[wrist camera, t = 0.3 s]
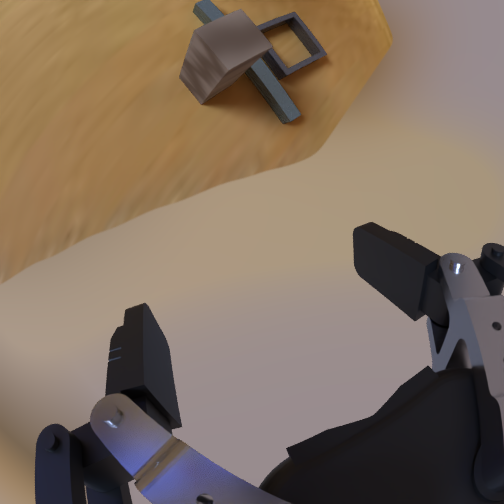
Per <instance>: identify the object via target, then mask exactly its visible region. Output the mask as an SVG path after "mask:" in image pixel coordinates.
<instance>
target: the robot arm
mask: <svg viewBox="0 0 504 504" xmlns="http://www.w3.org/2000/svg"><path fill="white" fill-rule="evenodd" d="M353 248H354V266H355V269H356V271H357V273H358V275H359V276H360V277H361V278H362V279H364V280H365V281H366V282H368V283H369V284H370V285H371V286H372V287H374V288H375V289H377V291H379V292H380V293H381V294H382V295H384V296H385V297H386V298H387V299H389V300H390V301H391V302H392V303H394V304H395V305H396V306H397V307H398V308H399V309H401V310H402V311H403V312H404V313H406V314H407V315H408V316H409V317H410V318H411V319H413V320H414V321H417V320H418V319H419V318H421V317H422V316H424V315H425V314H426V315H427V316H428V318H427V329H428V334H429V341H430V348H431V354H432V369H431V368H430V367H429V366H427V367H426V368H424V369H423V370H422V371H420V372H419V373H418V374H416V375H415V376H414V377H412V378H411V379H409V380H408V381H407V382H405V383H404V384H403V385H401V386H400V387H399V388H398V390H397V391H396V392H395V393H394V394H393V395H392V396H391V397H390V398H389V400H388V401H387V402H386V403H385V404H384V405H383V406H382V407H381V408H380V409H379V410H378V411H377V412H376V413H375V414H374V415H373V416H371V417H368V418H365V419H362V420H359V421H356V422H353V423H349V424H346V425H343V426H339V427H336V428H332V429H328V430H326V431H324V432H321V433H319V434H317V435H315V436H313V437H311V438H309V439H307V440H304V441H302V442H300V443H298V444H295V445H293V446H290V447H288V448H286V449H287V452H288V454H289V457H288V458H287V459H286V460H284V461H283V462H281V463H280V464H279V465H278V466H277V467H276V468H274V469H273V470H272V471H271V472H270V473H269V475H268V476H267V477H266V478H265V479H264V481H263V482H262V483H261V485H260V486H259V488H257V487H255V486H253V485H251V484H250V483H248V482H246V481H244V480H242V479H240V478H239V477H237V476H235V475H233V474H232V473H230V472H228V471H227V470H225V469H223V468H222V467H220V466H219V465H217V464H215V463H214V462H212V461H210V460H209V459H208V458H206V457H205V456H203V455H202V454H200V453H198V452H197V451H196V450H194V449H193V448H191V447H190V446H188V445H187V444H186V443H184V442H182V441H181V440H180V439H177V438H176V437H174V436H173V435H172V429H175V428H179V427H182V424H181V419H180V413H179V408H178V402H177V396H176V390H175V384H174V378H173V371H172V364H171V356H170V350H169V346H168V343H167V340H166V338H165V336H164V334H163V332H162V330H161V329H160V327H159V325H158V323H157V321H156V320H155V318H154V316H153V314H152V312H151V310H150V308H149V306H148V305H147V304H146V303H143V304H140V305H137V306H134V307H132V308H128V309H126V310H125V316H124V325H123V326H120V327H117V329H116V331H115V333H114V334H113V336H112V338H111V342H110V353H109V359H108V360H109V362H108V368H107V380H106V394H105V397H104V398H102V399H101V400H100V401H98V402H97V404H96V405H95V406H94V408H93V410H92V413H91V416H90V422H88V423H87V424H85V425H83V426H81V427H79V428H77V429H75V430H73V431H71V432H70V431H68V430H67V429H66V428H65V427H63V426H62V425H59V424H52V425H49V426H47V427H46V428H44V429H43V430H42V432H41V433H40V435H39V437H38V439H37V443H36V457H35V458H36V459H35V499H36V504H86V496H85V488H84V485H85V486H86V491H87V499H88V504H132V500H131V496H130V491H129V486H128V482H129V481H131V480H134V479H135V480H136V482H135V486H136V488H137V489H138V490H139V491H140V492H141V494H143V496H144V497H146V498H147V499H148V500H149V501H150V502H151V503H152V504H504V296H503V295H501V293H502V290H503V287H504V246H502V245H499V244H495V243H487V244H485V245H484V246H483V248H482V253H481V257H480V258H478V259H474V260H471V259H470V258H468V257H467V256H465V255H462V254H458V253H448V254H445V255H443V256H442V257H441V256H439V255H437V254H435V253H434V252H432V251H430V250H428V249H427V248H425V247H423V246H421V245H419V244H418V243H415V242H414V241H412V240H410V239H407V237H405V236H403V235H401V234H399V233H397V232H393V231H389V230H387V229H385V228H383V227H381V226H379V225H377V224H375V223H373V222H369V223H367V224H364V225H362V226H359V227H357V228H355V229H354V231H353Z"/></svg>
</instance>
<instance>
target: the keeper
mask: <svg viewBox="0 0 504 504" xmlns="http://www.w3.org/2000/svg"><path fill="white" fill-rule="evenodd" d="M193 13H194V14H195V15H196V16H197V17H198V18H199V19H200V20H201V21H202V22H203V23H204V25H205V24H208V23H210V22H212V21H214V20H216V19H218V18H220V17H223V16H224V15H223V13H222V12H221V11H220V10H219V9H218V8H217V7H216V6H215V5H214V4H213V3H212V2H211V1H210V0H202V1H200V2H198V3H196V4H195V6H194V9H193ZM285 23H287V24H288V25H289V27H290V28H291V29H292V30H293V32H294V33H295V34H296V35H297V37H298V38H299V39H300V41H301V42H302V43H303V45H304V46H305V47H306V49H307V50H308V51H309V53H310V54H311V55H312V56H311V57H309V58H307V59H305V60H303V61H301V62H299V63H298V64H296V65H294V66H292V67H290V68H287V67H286V66H285V64H284V63H283V62H282V60H281V59H280V58H279V56H278V55H277V54H276V53H275V51H274V50H273V49H272V48H271V49H270V50H269V51H268V52H266V53H265V54H264V55H263V56H262V58H263V59H264V61H265V62H266V63H267V65H268V66H269V67H270V69H271V70H272V71H273V73H274V74H275V75H276V77H277V78H278V79H279V80H280V79H282V78H284V77H285V76H287V75H289V74H291V73H293V72H294V71H296V70H298V69H300V68H302V67H304V66H306V65H308V64H309V63H311V62H313V61H315V60H317V59H319V58H321V57H323V56H325V55H327V53H326V52H325V51H324V49H323V48H322V46H321V45H320V44H319V42H318V41H317V39H316V38H315V37H314V35H313V34H312V33H311V31H310V30H309V29H308V28H307V26H306V25H305V24H304V23H303V21H302V20H301V19H300V18H299V16H298V15H297V14H296V13H295V12H292V13H289V14H287V15H284V16H281V17H278V18H276V19H273V20H271V21H268V22H266V23H263V24H261V25H258V26H257V28H258V29H259V30H260V31H261V32H262V33H264V32H266V31H268V30H271V29H273V28H276V27H278V26H280V25H283V24H285ZM245 73H246V74H247V76H248V77H249V78H250V80H251V81H252V82H253V83H254V85H255V86H256V87H257V89H258V90H259V91H260V93H261V94H262V95H263V97H264V98H265V100H266V101H267V102H268V104H269V105H270V107H271V108H272V109H273V111H274V112H275V114H276V115H277V116H278V118H279V119H280V121H281V122H282V124H284V123H288V122H291V121H292V120H294V119H295V118H297V117H298V116H300V115H301V113H300V112H299V110H298V109H297V107H296V106H295V105H294V103H293V102H292V100H291V99H290V97H289V96H288V94H287V93H286V92H285V90H284V89H283V87H282V86H281V85H280V83H279V82H278V80H277V79H276V78H275V76H274V75H273V74H272V72H271V71H270V70H269V68H268V67H267V66H266V64H265V63H264V62H263V61H262V59H261V58H260V59H258V60H257V61H256V62H255V63H254V64H253V65H252V66H251V67H250V68H249V69H248V70H246V71H245Z"/></svg>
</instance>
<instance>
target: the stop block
mask: <svg viewBox="0 0 504 504" xmlns="http://www.w3.org/2000/svg"><path fill="white" fill-rule="evenodd" d="M272 47H273V46H272V45H271V43H270V42H269V41H268V40H267V38H266V37H265V36H264V35H263V34H262V32H261V31H260V30H259V29H258V28H257V26H256V25H255V24H254V23H253V22H252V21H251V20H250V18H249V17H248V16H247V15H246V14H245V13H244V12H243V11H242V10H241V9H239V10H237V11H234V12H232V13H230V14H227V15H225V16H223V17H220V18H218V19H216V20H214V21H212V22H210V23H208V24H205V25H203V26H201V27H199V28H197V29H196V30H194V32H193V35H192V38H191V41H190V44H189V47H188V50H187V53H186V56H185V59H184V63H183V66H182V69H181V73H180V76H179V78H180V79H181V80H182V82H183V83H184V84H185V85H186V87H187V88H188V89H189V90H190V91H191V93H192V94H193V95H194V96H195V98H196V99H197V100H198V101H199V103H200V104H201V105H202V104H203V103H205V102H206V101H208V100H209V99H210V98H212V97H214V96H215V95H217V94H218V93H220V92H221V91H223V90H224V89H226V88H227V87H229V86H231V85H232V84H233V83H234V82H235V81H236V80H237V79H238V78H239V77H240V76H241V75H242V74H243V73H244V72H245V71H246V70H248V69H249V68H250V67H251V66H252V65H253V64H254V63H255V62H256V61H257V60H258V59H260V58H261V57H262V56H263V55H264V54H265V53H266V52H268V51H269V50H270V49H271V48H272Z"/></svg>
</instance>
